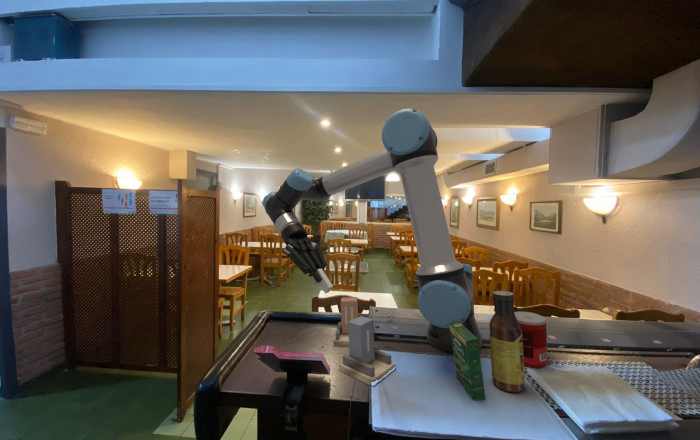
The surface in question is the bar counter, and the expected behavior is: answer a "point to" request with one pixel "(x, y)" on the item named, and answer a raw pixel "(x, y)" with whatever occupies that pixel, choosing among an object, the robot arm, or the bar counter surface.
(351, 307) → the pinkish brown tall block
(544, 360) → the canned food
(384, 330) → the bar counter surface
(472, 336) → the coffee box
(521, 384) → the sauce bottle
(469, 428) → the bar counter surface
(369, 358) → the slate key
